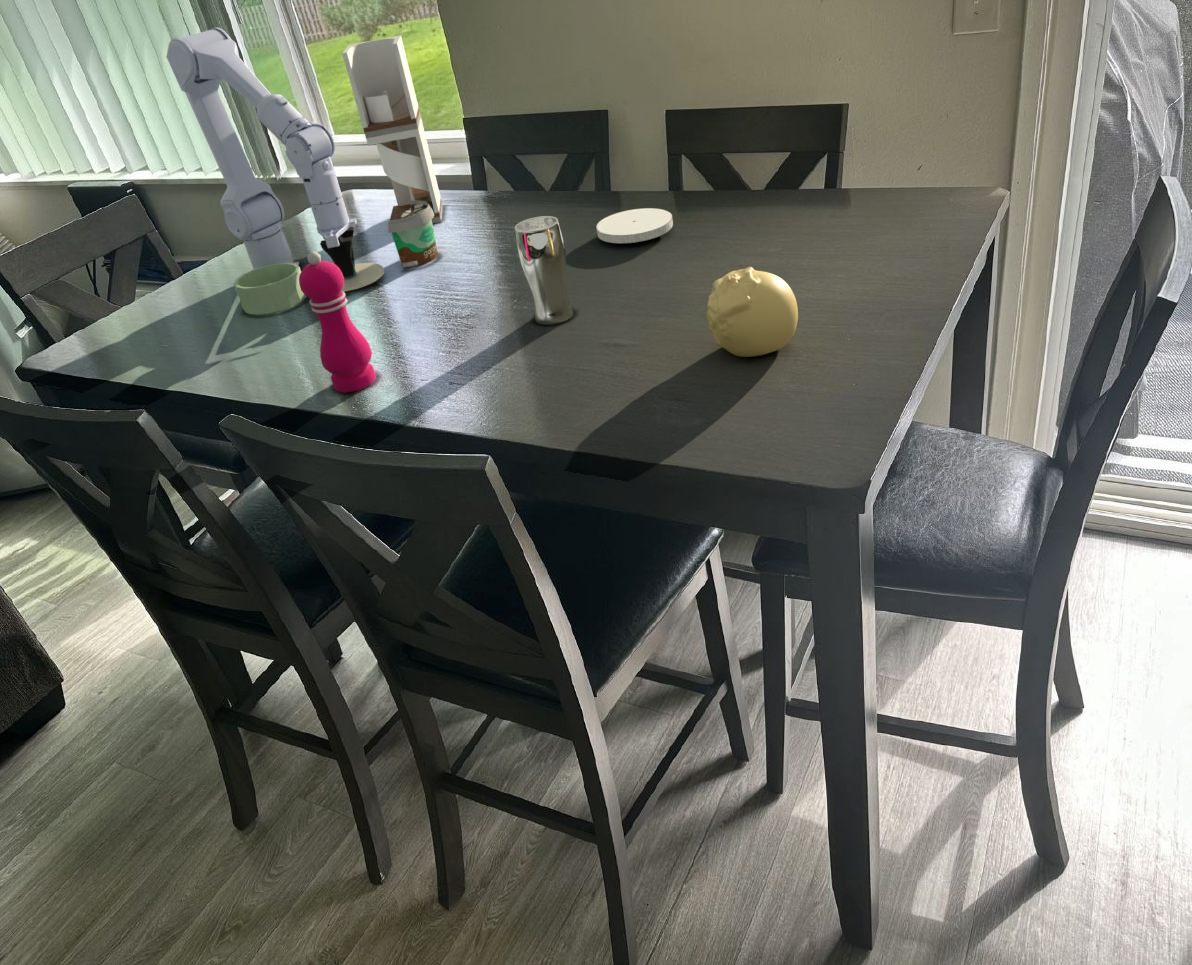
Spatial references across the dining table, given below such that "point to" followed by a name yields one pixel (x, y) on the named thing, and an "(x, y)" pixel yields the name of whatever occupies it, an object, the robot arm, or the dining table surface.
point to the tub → (270, 288)
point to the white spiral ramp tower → (393, 120)
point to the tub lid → (363, 276)
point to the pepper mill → (336, 327)
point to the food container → (414, 234)
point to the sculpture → (752, 312)
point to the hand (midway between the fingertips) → (348, 272)
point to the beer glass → (544, 267)
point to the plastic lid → (634, 225)
